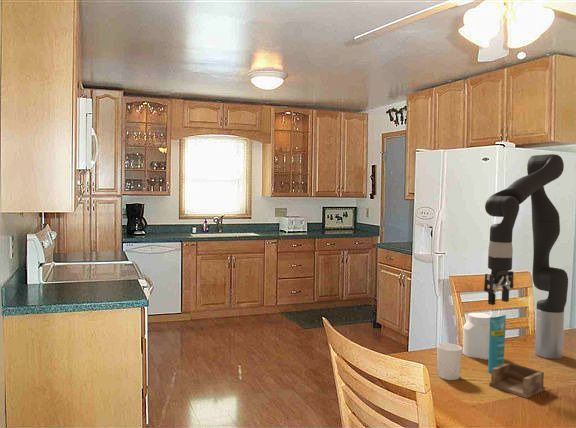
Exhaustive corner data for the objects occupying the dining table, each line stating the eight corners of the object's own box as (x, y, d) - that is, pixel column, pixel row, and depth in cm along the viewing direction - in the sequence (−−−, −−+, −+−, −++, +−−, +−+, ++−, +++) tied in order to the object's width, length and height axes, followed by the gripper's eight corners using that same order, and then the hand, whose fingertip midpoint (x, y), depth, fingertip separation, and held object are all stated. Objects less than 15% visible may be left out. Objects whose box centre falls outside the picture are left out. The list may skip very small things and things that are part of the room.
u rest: (507, 378, 168) (508, 361, 168) (544, 389, 159) (545, 372, 158) (489, 385, 161) (489, 368, 161) (526, 398, 152) (527, 380, 152)
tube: (495, 376, 170) (497, 318, 169) (482, 371, 174) (484, 315, 173) (508, 372, 174) (510, 316, 173) (496, 367, 178) (497, 313, 177)
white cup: (448, 382, 164) (449, 351, 163) (431, 374, 171) (431, 345, 170) (466, 378, 167) (467, 348, 167) (448, 371, 174) (449, 342, 174)
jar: (496, 353, 194) (497, 314, 193) (493, 360, 185) (495, 320, 185) (464, 348, 199) (465, 310, 199) (460, 355, 191) (461, 316, 190)
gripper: (501, 252, 180) (499, 298, 180) (478, 255, 171) (476, 303, 171) (521, 255, 174) (520, 302, 174) (499, 257, 165) (497, 307, 166)
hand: (498, 303), depth 173 cm, fingers open, 8 cm apart
